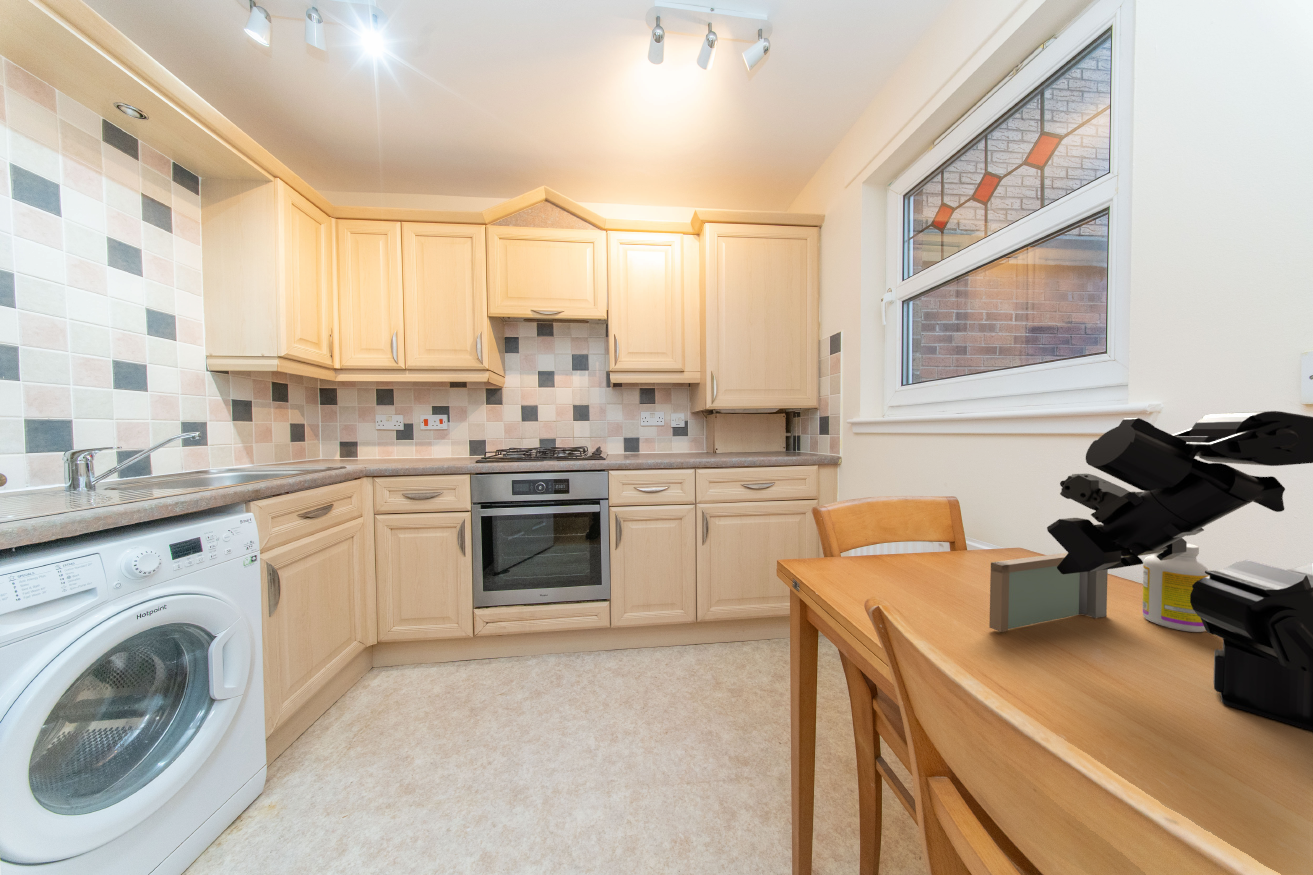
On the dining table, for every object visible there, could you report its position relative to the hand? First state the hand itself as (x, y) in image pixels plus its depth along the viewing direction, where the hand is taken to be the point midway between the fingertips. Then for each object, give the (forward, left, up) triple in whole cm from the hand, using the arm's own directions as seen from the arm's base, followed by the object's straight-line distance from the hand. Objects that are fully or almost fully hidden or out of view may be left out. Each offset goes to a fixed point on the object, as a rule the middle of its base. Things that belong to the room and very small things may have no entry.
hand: (1060, 570), depth 61 cm
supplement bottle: (-10, -24, -11) cm, 28 cm away
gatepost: (-1, -19, -11) cm, 22 cm away
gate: (+3, -7, -10) cm, 13 cm away
